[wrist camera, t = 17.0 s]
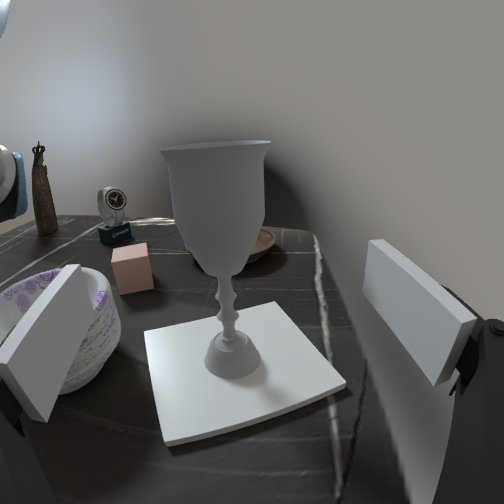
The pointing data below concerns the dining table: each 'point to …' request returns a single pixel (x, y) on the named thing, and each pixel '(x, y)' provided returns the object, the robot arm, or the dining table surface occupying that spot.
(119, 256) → the terracotta block
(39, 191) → the statue
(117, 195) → the watch
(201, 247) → the chalice
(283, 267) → the dining table surface
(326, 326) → the dining table surface
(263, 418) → the board
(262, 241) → the saucer
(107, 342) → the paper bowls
